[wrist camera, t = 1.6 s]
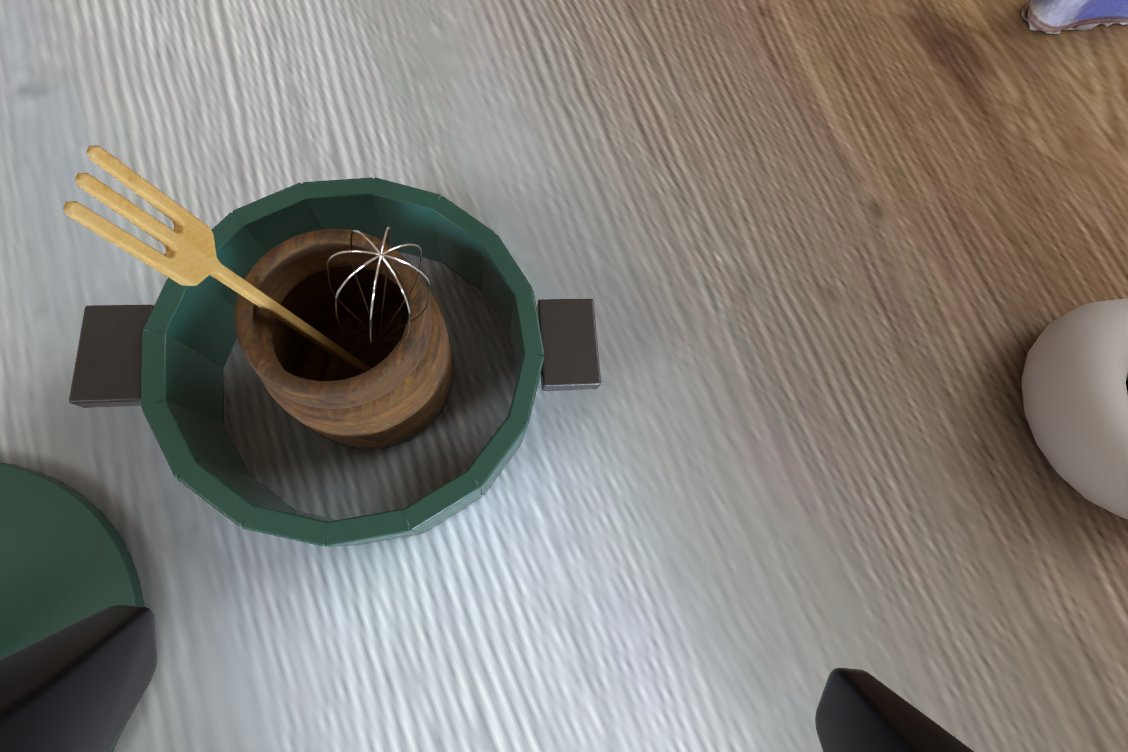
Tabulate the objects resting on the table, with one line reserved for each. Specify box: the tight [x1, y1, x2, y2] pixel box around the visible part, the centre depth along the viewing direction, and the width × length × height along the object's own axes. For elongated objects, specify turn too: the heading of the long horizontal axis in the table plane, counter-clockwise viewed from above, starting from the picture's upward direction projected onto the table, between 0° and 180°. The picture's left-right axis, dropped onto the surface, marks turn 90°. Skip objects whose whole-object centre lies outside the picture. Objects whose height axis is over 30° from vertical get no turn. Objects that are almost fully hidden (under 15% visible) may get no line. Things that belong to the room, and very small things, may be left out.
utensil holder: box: [63, 146, 453, 449], centre depth 16 cm, size 6×6×12 cm
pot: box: [69, 178, 601, 546], centre depth 20 cm, size 13×15×4 cm
